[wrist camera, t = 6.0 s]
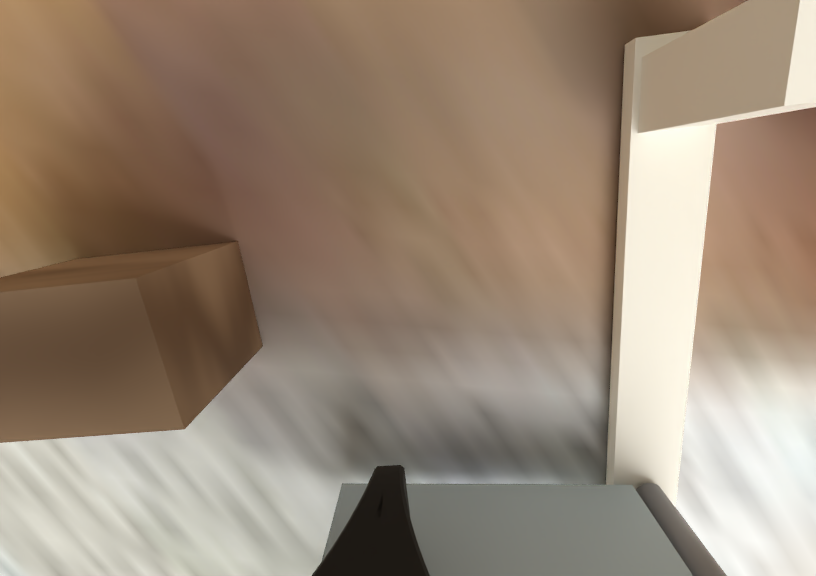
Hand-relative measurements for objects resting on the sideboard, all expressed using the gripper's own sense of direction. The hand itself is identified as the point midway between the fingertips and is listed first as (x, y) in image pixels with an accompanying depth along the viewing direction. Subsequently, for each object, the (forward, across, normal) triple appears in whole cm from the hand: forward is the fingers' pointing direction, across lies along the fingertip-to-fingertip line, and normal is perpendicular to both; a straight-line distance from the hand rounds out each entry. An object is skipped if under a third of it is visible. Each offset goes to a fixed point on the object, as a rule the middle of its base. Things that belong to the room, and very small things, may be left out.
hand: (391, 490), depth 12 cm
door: (+2, -4, +3) cm, 5 cm away
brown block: (+3, +8, -6) cm, 10 cm away
